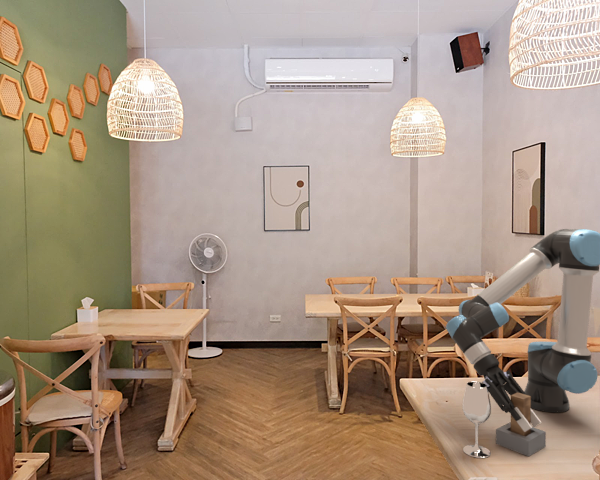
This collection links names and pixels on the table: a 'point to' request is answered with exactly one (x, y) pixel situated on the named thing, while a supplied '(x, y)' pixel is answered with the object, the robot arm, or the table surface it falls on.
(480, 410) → the wineglass
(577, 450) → the table surface
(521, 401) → the wooden block
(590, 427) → the table surface
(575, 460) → the table surface
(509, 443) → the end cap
